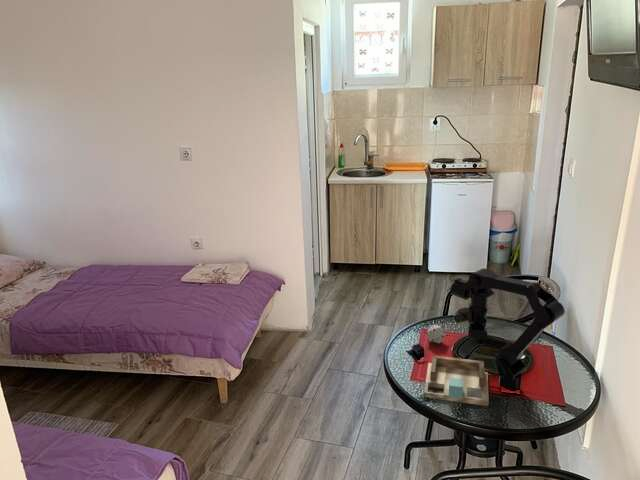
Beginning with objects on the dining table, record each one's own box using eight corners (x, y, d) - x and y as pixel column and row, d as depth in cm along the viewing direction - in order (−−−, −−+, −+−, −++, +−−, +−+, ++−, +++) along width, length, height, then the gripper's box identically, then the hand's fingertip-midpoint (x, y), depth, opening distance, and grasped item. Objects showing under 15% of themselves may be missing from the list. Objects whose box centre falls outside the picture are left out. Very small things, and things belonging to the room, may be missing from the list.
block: (462, 390, 170) (463, 379, 169) (462, 398, 166) (463, 387, 165) (449, 388, 172) (449, 377, 170) (448, 396, 168) (449, 385, 166)
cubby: (483, 369, 181) (483, 361, 180) (483, 386, 172) (484, 378, 171) (432, 363, 186) (432, 355, 185) (430, 379, 177) (430, 371, 176)
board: (487, 374, 182) (487, 369, 181) (488, 406, 165) (488, 400, 165) (428, 367, 187) (428, 362, 187) (423, 397, 171) (424, 391, 171)
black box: (435, 362, 191) (435, 352, 190) (419, 367, 189) (419, 357, 187) (416, 346, 202) (416, 336, 201) (401, 351, 200) (401, 341, 198)
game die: (439, 349, 206) (455, 331, 203) (433, 352, 198) (449, 334, 195) (423, 333, 209) (439, 316, 206) (416, 335, 202) (432, 318, 199)
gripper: (456, 290, 186) (454, 327, 191) (454, 314, 169) (452, 353, 174) (487, 293, 182) (484, 330, 188) (488, 317, 166) (485, 357, 171)
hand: (476, 342), depth 180 cm, fingers closed
